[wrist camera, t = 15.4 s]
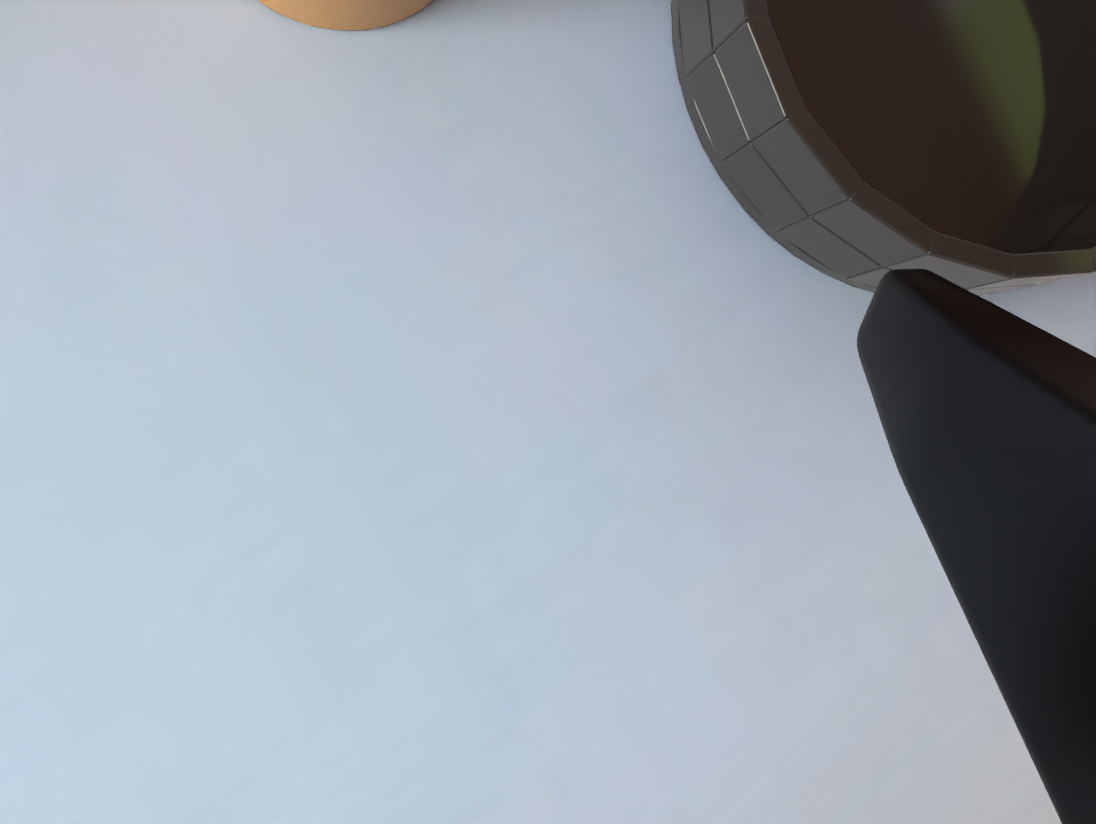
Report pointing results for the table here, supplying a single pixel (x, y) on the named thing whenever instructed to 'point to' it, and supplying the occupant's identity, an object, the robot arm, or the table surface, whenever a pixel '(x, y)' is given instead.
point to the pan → (903, 131)
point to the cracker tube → (347, 12)
